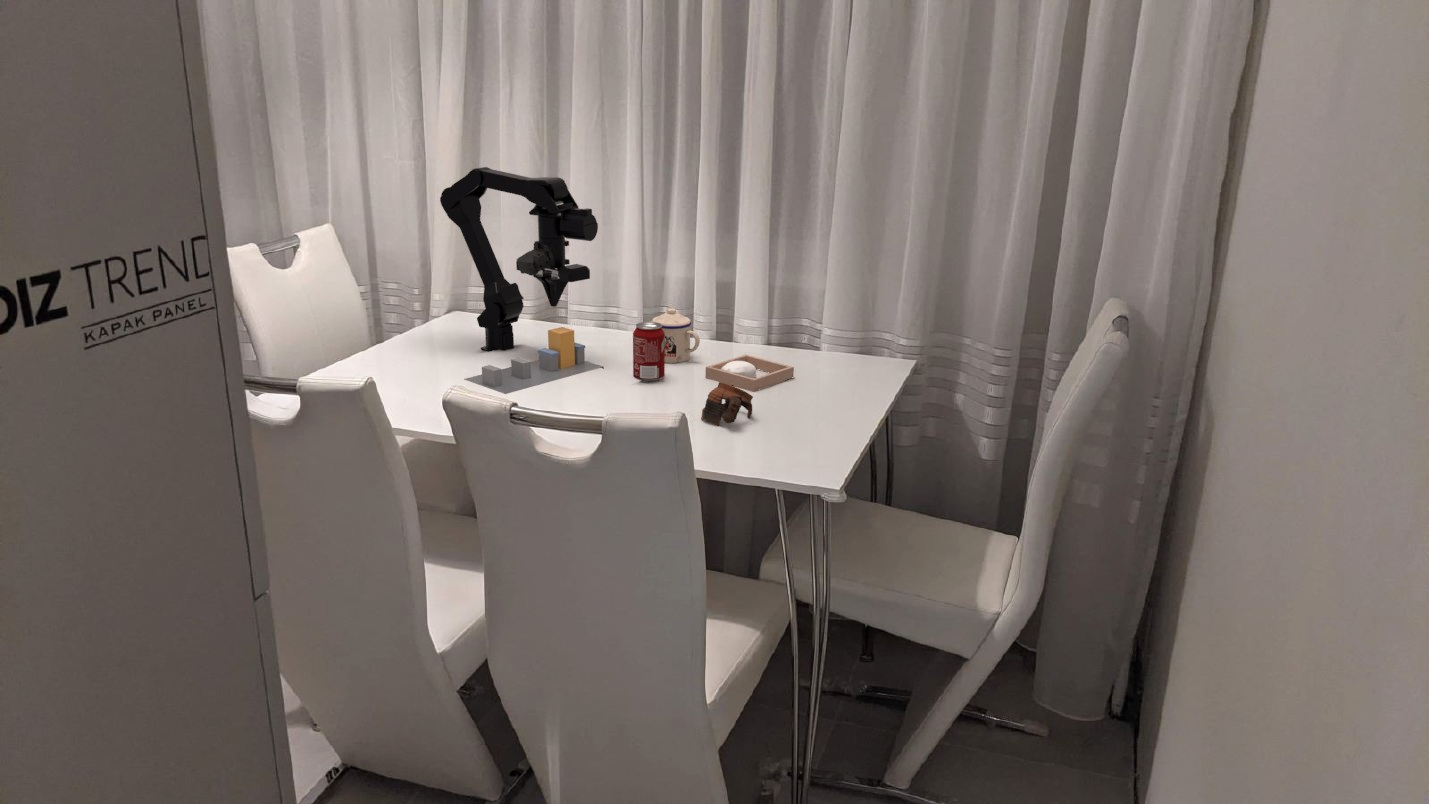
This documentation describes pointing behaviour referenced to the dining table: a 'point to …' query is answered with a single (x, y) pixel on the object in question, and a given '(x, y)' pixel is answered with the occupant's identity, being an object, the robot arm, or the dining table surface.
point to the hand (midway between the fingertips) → (553, 306)
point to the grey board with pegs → (532, 371)
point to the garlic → (740, 368)
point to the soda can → (648, 352)
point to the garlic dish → (775, 376)
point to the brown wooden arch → (725, 404)
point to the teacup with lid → (677, 336)
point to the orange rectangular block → (562, 346)
